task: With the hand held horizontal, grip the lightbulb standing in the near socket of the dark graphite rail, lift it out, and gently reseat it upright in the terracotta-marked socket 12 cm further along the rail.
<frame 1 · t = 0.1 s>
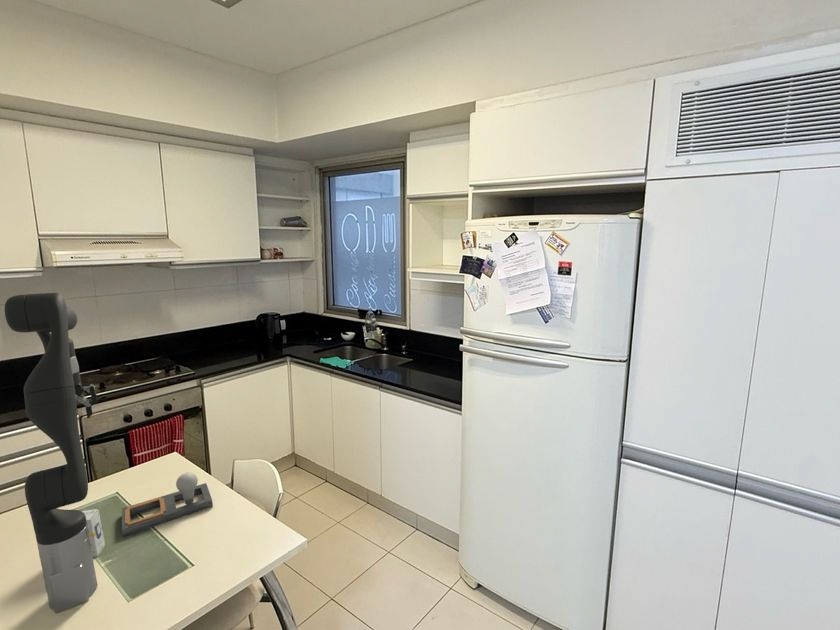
hand: (72, 420, 135), 29 cm above the table, tool pointing down, fingers open, 8 cm apart
lightbulb: (189, 504, 139), resting in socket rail
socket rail: (168, 511, 136), on the table
ink box: (84, 554, 118), on the table
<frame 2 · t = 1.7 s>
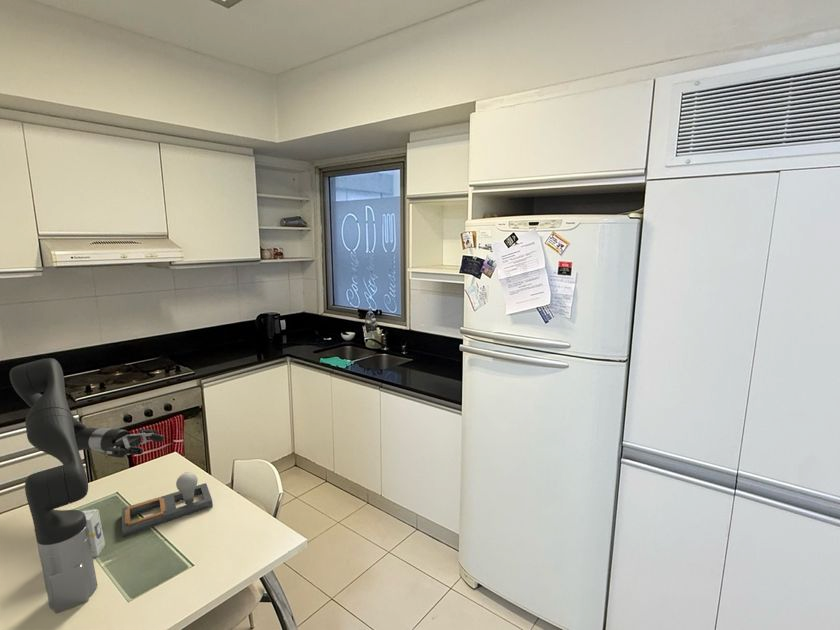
hand: (152, 444, 138), 20 cm above the table, tool horizontal, fingers open, 8 cm apart
nothing on the table moved.
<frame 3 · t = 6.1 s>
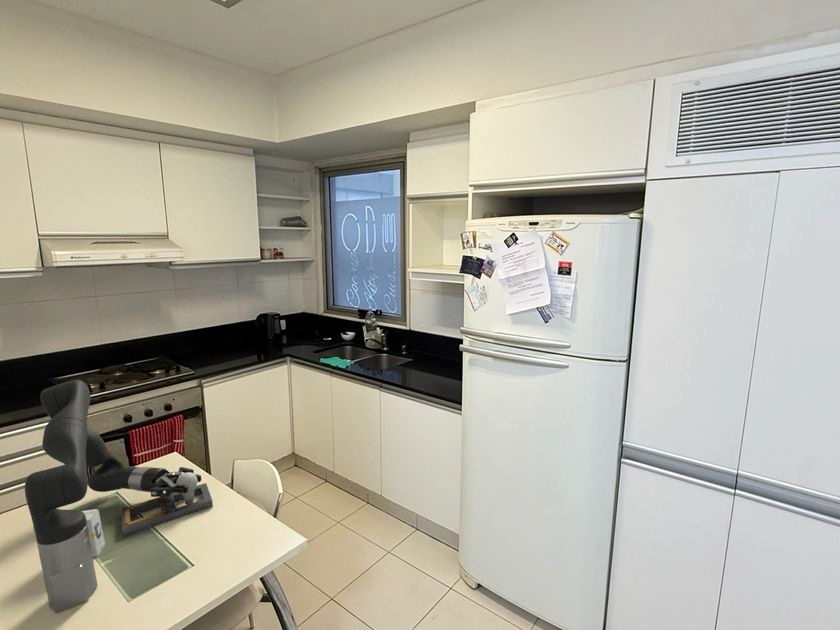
hand: (193, 483, 137), 8 cm above the table, tool horizontal, fingers closed on lightbulb, 5 cm apart
lightbulb: (189, 504, 139), resting in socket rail, touching gripper
everything else where it was.
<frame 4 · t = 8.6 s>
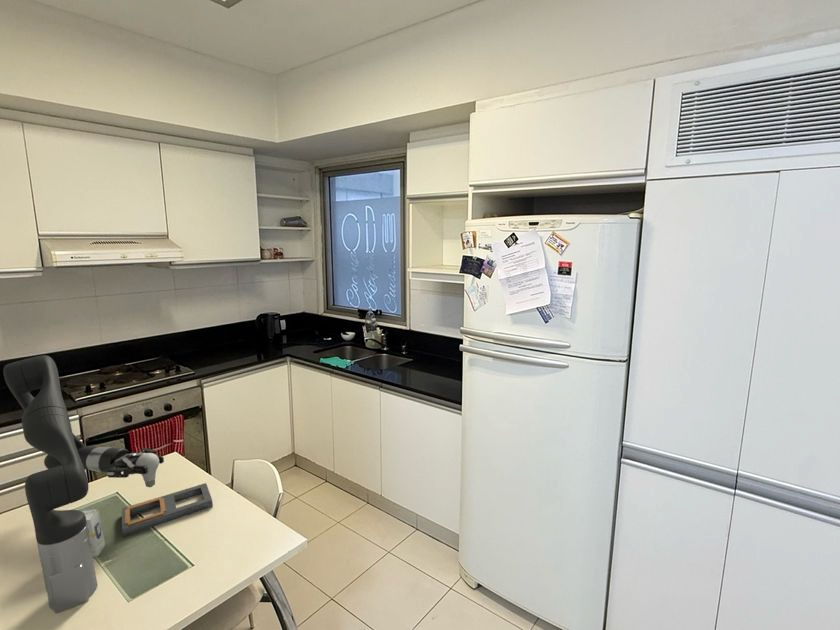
hand: (154, 465, 130), 18 cm above the table, tool horizontal, fingers closed on lightbulb, 5 cm apart
lightbulb: (150, 487, 132), point 10 cm above the table, touching gripper
everything else where it was.
when the fingers open (8 cm above the table, at t = 11.1 s): lightbulb stays where it is, resting in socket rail.
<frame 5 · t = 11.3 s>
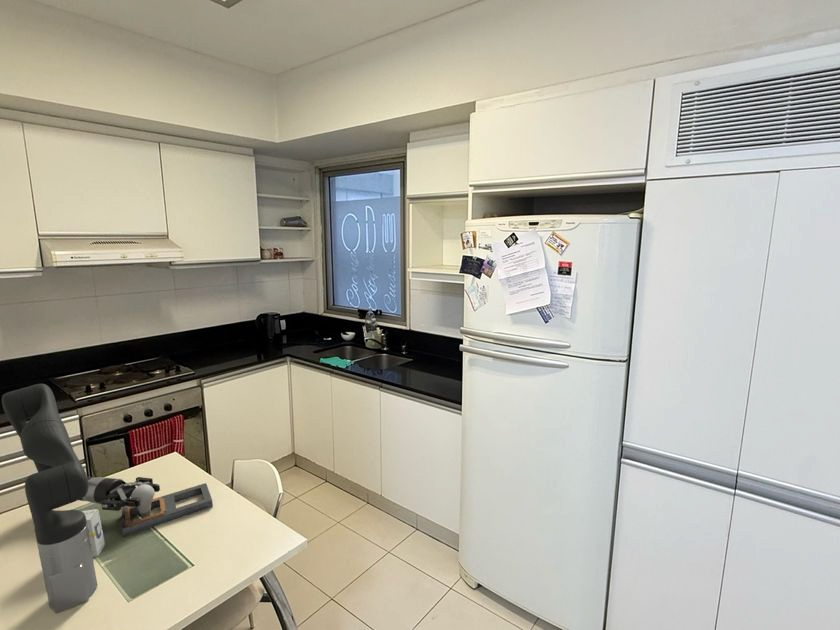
hand: (149, 495, 131), 8 cm above the table, tool horizontal, fingers open, 7 cm apart
lightbulb: (146, 518, 133), resting in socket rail
everything else where it was.
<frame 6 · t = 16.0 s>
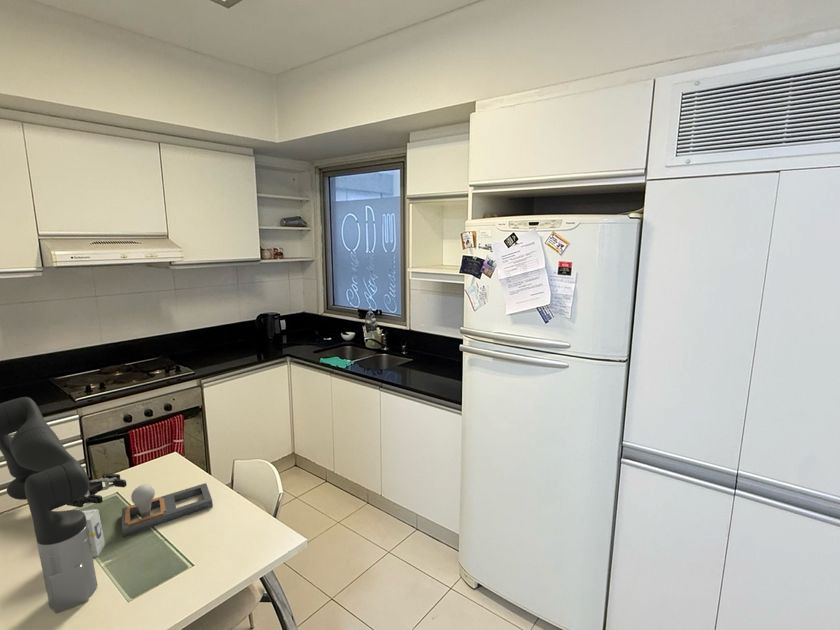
hand: (113, 491, 133), 8 cm above the table, tool horizontal, fingers open, 8 cm apart
nothing on the table moved.
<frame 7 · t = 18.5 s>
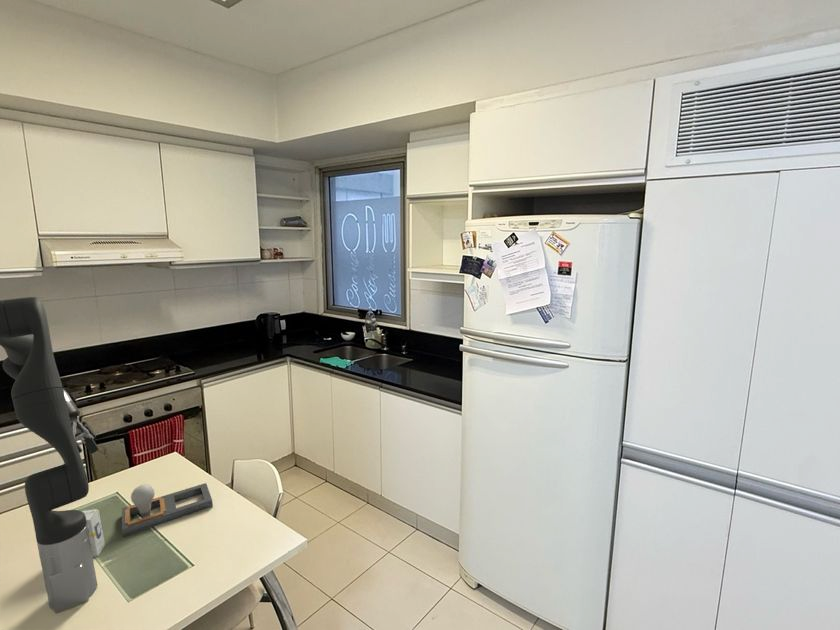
hand: (87, 452, 123), 25 cm above the table, tool tilted 40°, fingers open, 8 cm apart
nothing on the table moved.
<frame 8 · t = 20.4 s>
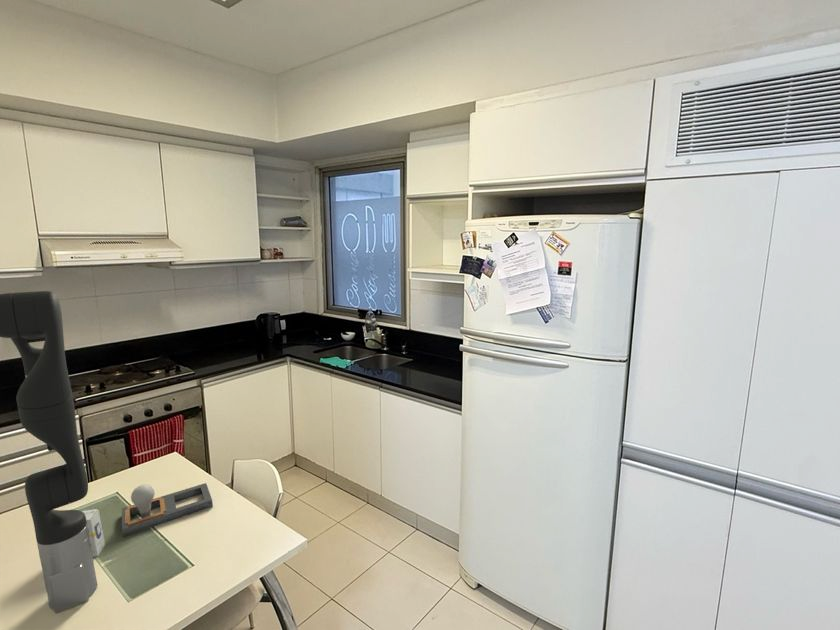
hand: (55, 443, 118), 30 cm above the table, tool pointing down, fingers open, 8 cm apart
nothing on the table moved.
at the end: lightbulb 0.2 cm from the target spot on the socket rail, point 0.0 cm above the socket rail's base; lightbulb tilted 0°; the gripper is holding nothing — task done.
